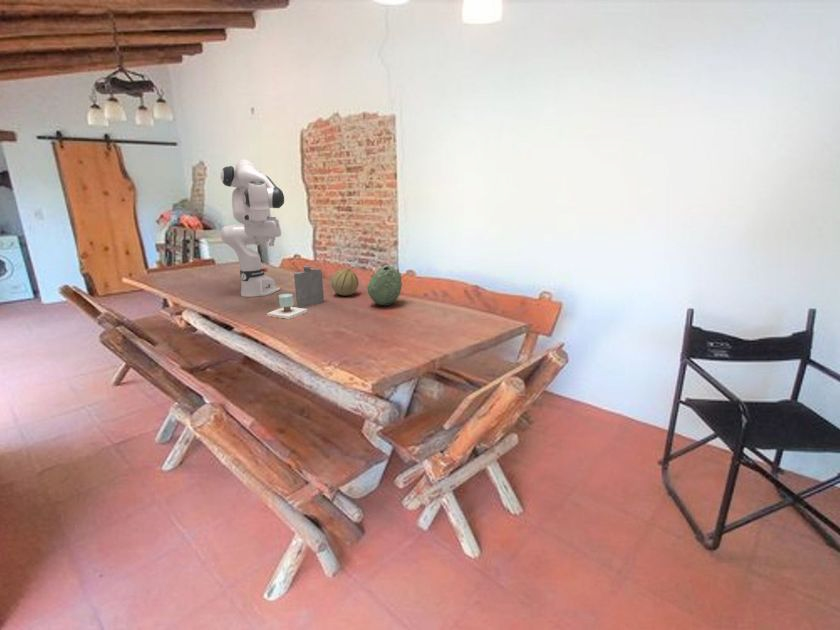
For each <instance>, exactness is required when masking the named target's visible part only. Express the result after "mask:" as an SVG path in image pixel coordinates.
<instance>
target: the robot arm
mask: <svg viewBox="0 0 840 630" xmlns="http://www.w3.org/2000/svg"><path fill="white" fill-rule="evenodd" d="M220 180H221V182H222V184H223V185H224V186H225V187H229V188H232V187H233V188H235V189H233V191H232V194H231V206H232V215H233V216H232V217H233V218H234V219H235V221H236V222H238V223H234V224H232V223H231V224H228V225H224V226H222V228H221V231H220V238H221V240H222V242H223V243H224V244H225V245H227V246H229V247H230V248H232V250H234V252H235V253H236V255H237V259H238V262H239V268H240V269H239V277H240V278H241V279H240V280H241V281H240V284H241V289H240V296H242V297H246V298H247V297H248V298H255V297H263V296H264V297H265V296H269V295H271V294H273V293H276V292H278V291H280V290H281V288H280V287H278V286H276V282H275V280H274V279H273V278H272V277H270V276H268V275H266V273H267V272H268V270H269V269H268V268H265V267H264V268H262V261H261V255H260V254H259V253H258V252H257V251H255V250H252V249H250V248H248V247H247V245H254V246H260V244H265V243H268V246H269V247H275V241H276V238H278V237H279V238H280V237H281V236H282V231H281V226H280V223H279V219H278V218H277V217H276V216H271V209H280V208H282V207H283V205H284V203H285V195H284V193H283V190H281V188H280V187H278V186H277V185H276V184H275V183H274V182H273V180H272V179H271V178H270V177H269V176H268V175H266V174H264V173H262V172H261V171H260V170H258V168H257V167H256V165H255V164H254V163H253V162H252V161H251V160H249V159H247V158H242V159H240V160H238V161H237V162H236V165H235V166H232V165H230V166H224V167H223V168H222V169H221V172H220ZM265 272H266V273H265Z"/></svg>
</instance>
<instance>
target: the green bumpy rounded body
mask: <svg viewBox="0 0 840 630" xmlns="http://www.w3.org/2000/svg"><path fill="white" fill-rule="evenodd" d="M402 286H403V283H402V273H400V270H399V268H397V267H394V266H390V265H389V264H384V266H383V267H380V268H378V269H377V270H376V272H375V273H373V274H371V275H370V280H369V282H368V285H367V289H366V291H367V293H368V296H369V297H370V299H371V301H373V302H374V303H375V304H377V305H379V306H383V307H385V306H390V305H392V304H394V303H395V302H396V301H397V300H398V298H399V296H400V294H401V291H402Z"/></svg>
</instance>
